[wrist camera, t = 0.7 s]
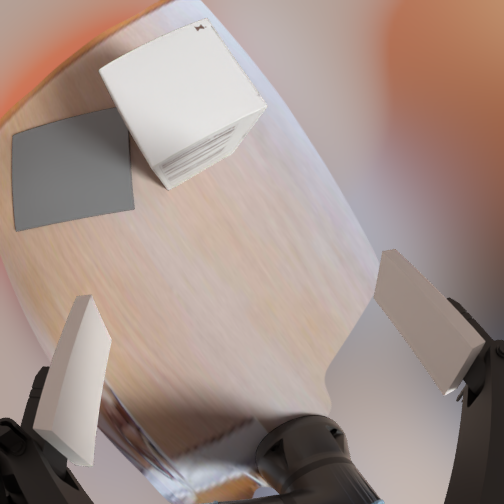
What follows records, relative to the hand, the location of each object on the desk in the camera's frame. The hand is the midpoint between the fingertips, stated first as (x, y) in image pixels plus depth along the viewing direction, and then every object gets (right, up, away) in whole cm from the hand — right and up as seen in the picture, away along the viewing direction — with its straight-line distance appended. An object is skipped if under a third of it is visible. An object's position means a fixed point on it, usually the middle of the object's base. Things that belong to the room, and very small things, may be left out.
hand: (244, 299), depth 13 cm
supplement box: (-8, +15, +21) cm, 28 cm away
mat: (-22, +12, +19) cm, 32 cm away
